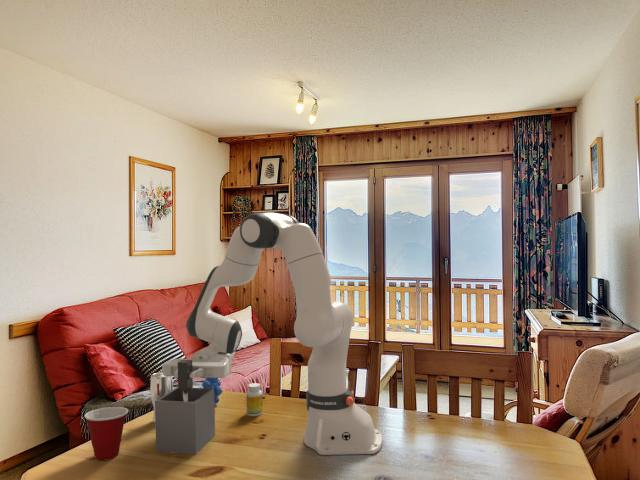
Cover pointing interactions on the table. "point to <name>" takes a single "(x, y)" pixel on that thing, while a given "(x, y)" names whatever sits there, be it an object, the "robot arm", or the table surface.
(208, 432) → the box
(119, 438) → the plastic cup
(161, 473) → the table surface
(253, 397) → the supplement bottle
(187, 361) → the plunger
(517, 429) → the table surface
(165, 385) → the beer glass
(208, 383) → the grapes
